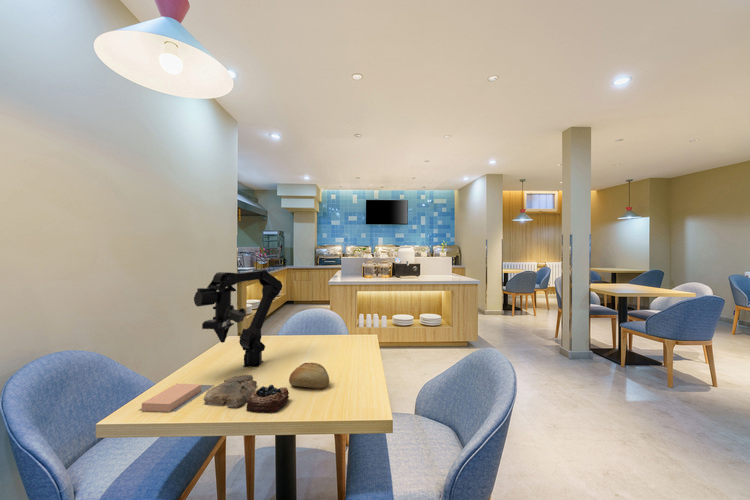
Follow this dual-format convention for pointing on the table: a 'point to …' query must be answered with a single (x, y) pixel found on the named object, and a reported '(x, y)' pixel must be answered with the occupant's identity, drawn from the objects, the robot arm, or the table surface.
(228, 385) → the flat grey rock
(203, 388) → the mat
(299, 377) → the bread roll
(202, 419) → the table surface
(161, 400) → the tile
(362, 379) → the table surface
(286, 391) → the pastry
